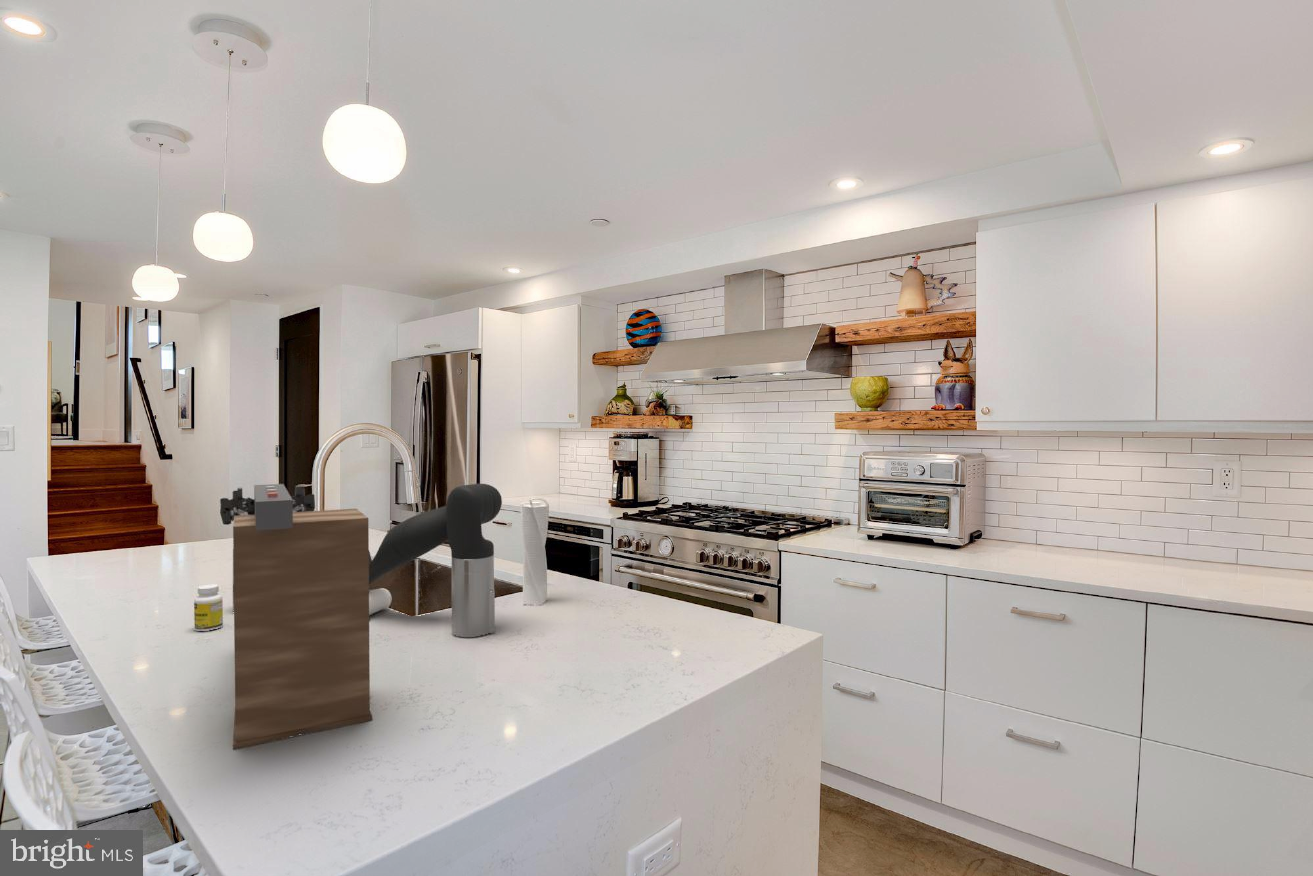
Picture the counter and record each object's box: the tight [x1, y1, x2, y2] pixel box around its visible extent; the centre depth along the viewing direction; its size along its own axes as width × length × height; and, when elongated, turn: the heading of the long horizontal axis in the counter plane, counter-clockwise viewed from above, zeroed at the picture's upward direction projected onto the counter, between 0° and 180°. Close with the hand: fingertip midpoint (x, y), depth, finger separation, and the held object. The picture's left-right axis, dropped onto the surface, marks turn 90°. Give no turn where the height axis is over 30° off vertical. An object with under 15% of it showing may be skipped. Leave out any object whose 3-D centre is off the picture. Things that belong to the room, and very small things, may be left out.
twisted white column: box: [520, 496, 550, 606], centre depth 176 cm, size 8×8×28 cm
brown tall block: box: [232, 508, 373, 750], centre depth 107 cm, size 15×19×32 cm
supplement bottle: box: [193, 583, 224, 632], centre depth 153 cm, size 5×5×10 cm
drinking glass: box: [369, 587, 392, 616], centre depth 163 cm, size 7×7×15 cm
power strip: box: [253, 483, 293, 531], centre depth 107 cm, size 30×4×4 cm, turn 31°
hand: (269, 491), depth 113 cm, fingers open, 8 cm apart
